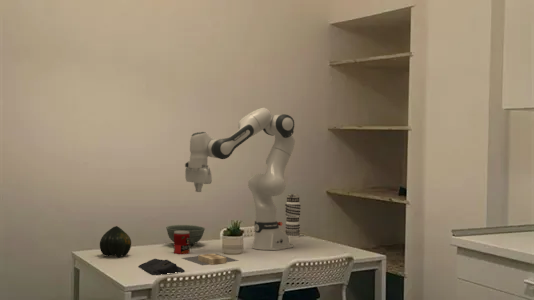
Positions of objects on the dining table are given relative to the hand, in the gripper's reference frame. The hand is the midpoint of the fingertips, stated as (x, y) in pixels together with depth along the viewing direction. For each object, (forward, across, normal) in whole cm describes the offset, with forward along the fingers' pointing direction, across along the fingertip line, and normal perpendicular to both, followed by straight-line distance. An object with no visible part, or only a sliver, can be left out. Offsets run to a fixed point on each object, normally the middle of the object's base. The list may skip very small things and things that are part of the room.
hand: (198, 191), depth 320 cm
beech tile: (+29, -17, +6) cm, 35 cm away
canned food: (+31, +4, +7) cm, 32 cm away
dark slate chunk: (+32, -24, +33) cm, 52 cm away
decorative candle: (+32, +17, -74) cm, 83 cm away
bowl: (+31, +23, -6) cm, 39 cm away
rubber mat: (+31, -18, +4) cm, 36 cm away
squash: (+31, +16, +37) cm, 51 cm away
